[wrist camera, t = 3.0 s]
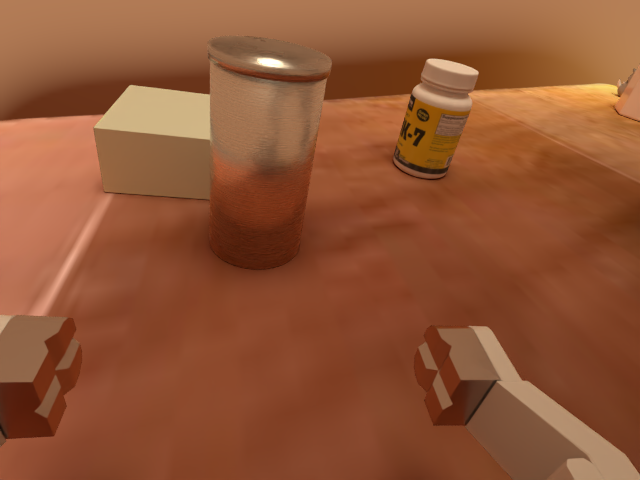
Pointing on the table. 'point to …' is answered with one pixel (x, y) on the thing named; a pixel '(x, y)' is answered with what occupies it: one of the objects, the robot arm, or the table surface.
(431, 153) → the supplement bottle
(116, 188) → the block
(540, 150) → the table surface
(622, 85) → the round bodied animal figurine
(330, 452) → the table surface
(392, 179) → the table surface
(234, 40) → the clear glass canister
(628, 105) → the jar
